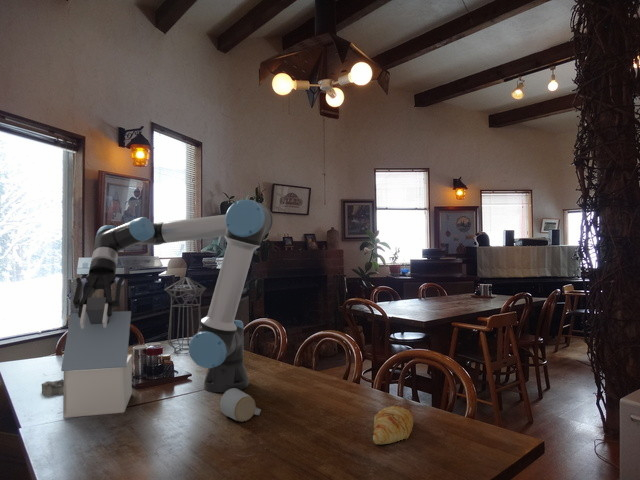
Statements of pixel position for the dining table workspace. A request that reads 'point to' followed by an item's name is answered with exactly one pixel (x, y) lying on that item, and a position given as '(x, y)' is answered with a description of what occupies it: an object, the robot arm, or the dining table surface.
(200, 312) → the geometric lantern
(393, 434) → the croissant
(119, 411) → the storage box
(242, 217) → the robot arm
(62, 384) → the grey piece
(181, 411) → the dining table surface
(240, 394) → the ceramic mug
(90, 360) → the lid
